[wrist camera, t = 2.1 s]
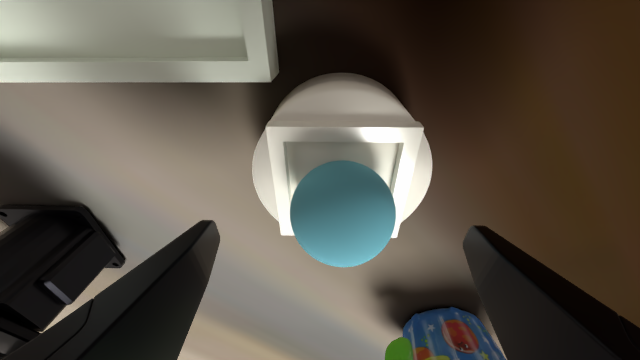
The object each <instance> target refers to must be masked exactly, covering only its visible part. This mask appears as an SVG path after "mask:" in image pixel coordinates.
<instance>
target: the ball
mask: <svg viewBox="0 0 640 360" xmlns="http://www.w3.org/2000/svg"><path fill="white" fill-rule="evenodd" d="M395 221H396V207H395V203H394V198H393V196H392V193H391V191H390V189H389V187H388V186H387V184H386V183H385V181H384V180H383V179H382V178H381V177H380V176H379V175H378V174H377V173H376V172H375V171H373V170H372V169H370V168H369V167H367V166H365V165H363V164H360V163H357V162H353V161H346V160H339V161H331V162H327V163H324V164H322V165H320V166H318V167H316V168H314V169H313V170H311V171H310V172H309V173H308V174H307V175H306V176H305V177H304V178H303V179H302V180H301V181H300V182H299V184H298V186H297V187H296V189H295V191H294V194H293V197H292V200H291V205H290V222H291V226H292V230H293V233H294V235H295V237H296V239H297V241H298V242H299V244H300V245H301V246H302V248H303V249H304V250H305V251H306V252H307V253H308V254H309V255H310V256H312V257H313V258H315V259H316V260H318V261H320V262H322V263H325V264H327V265H331V266H336V267H351V266H356V265H360V264H363V263H365V262H367V261H369V260H371V259H372V258H374V257H375V256H376V255H378V254H379V253H380V252H381V251H382V250H383V249H384V247H385V246H386V245H387V243H388V242H389V240H390V238H391V236H392V233H393V230H394V227H395Z"/></svg>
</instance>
